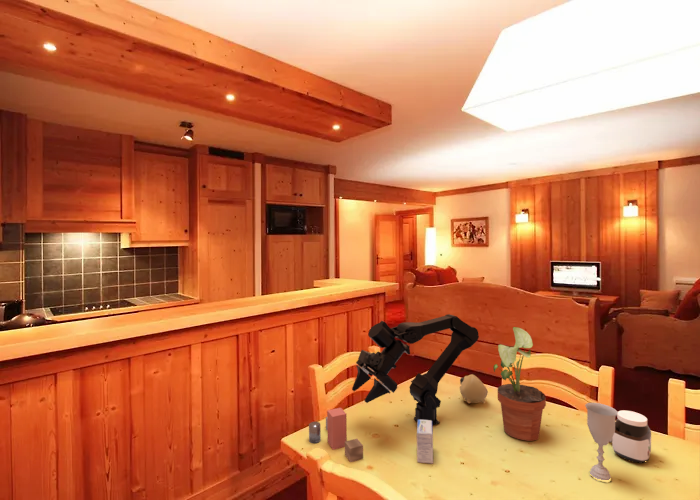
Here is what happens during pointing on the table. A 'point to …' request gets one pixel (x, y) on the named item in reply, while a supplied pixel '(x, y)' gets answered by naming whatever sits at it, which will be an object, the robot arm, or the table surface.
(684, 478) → the table surface
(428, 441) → the medicine box
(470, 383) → the toy pig
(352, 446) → the walnut block
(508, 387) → the potted plant
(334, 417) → the dusty red block
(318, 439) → the grey metal cylinder
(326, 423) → the slate grey block
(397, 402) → the table surface
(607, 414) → the chalice
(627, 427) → the spread jar
